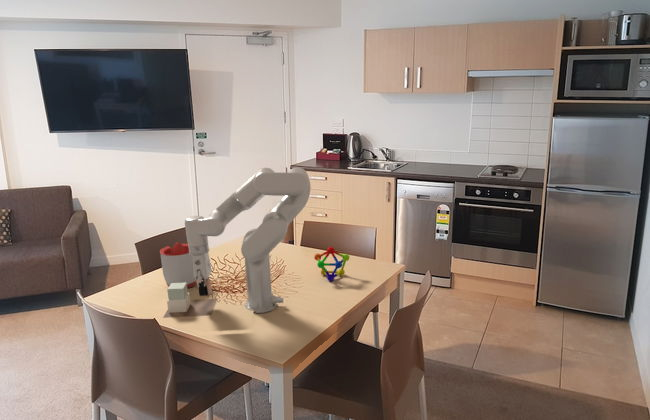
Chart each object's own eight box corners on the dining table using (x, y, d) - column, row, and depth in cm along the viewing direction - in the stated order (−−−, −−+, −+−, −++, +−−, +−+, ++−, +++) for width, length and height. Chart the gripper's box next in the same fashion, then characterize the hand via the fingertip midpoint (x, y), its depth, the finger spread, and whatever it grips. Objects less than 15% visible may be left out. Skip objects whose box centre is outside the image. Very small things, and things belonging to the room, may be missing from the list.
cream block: (190, 304, 209) (189, 292, 208) (186, 311, 202) (185, 299, 201) (172, 304, 209) (171, 293, 208) (168, 312, 202) (166, 300, 201)
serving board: (217, 301, 213) (217, 298, 213) (211, 318, 199) (210, 315, 199) (173, 303, 213) (172, 300, 213) (163, 320, 198) (163, 317, 198)
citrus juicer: (195, 275, 243) (191, 233, 238) (203, 287, 228) (199, 244, 223) (160, 281, 237) (155, 239, 232) (167, 295, 221) (161, 250, 216)
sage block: (187, 293, 207) (186, 282, 206) (184, 299, 201) (183, 288, 200) (172, 293, 207) (171, 283, 206) (168, 300, 201) (167, 289, 200)
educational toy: (318, 287, 227) (313, 254, 223) (317, 276, 239) (312, 245, 236) (353, 282, 227) (349, 249, 223) (350, 271, 240) (346, 240, 236)
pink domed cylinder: (212, 289, 207) (211, 278, 206) (210, 294, 202) (208, 282, 201) (200, 290, 207) (198, 279, 205) (197, 296, 202) (195, 284, 201)
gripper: (204, 254, 192) (211, 300, 196) (212, 240, 208) (218, 283, 213) (183, 256, 191) (191, 302, 196) (193, 242, 208) (199, 284, 212)
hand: (205, 292), depth 204 cm, fingers closed on pink domed cylinder, 5 cm apart
